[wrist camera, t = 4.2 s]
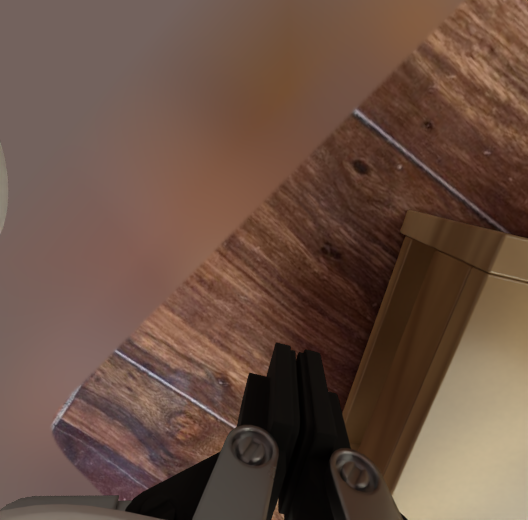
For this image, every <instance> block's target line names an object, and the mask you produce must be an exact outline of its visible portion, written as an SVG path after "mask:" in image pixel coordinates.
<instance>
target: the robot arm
mask: <svg viewBox="0 0 528 520" xmlns="http://www.w3.org/2000/svg"><path fill="white" fill-rule="evenodd" d="M278 498H279V502H278V510H279V513H281V514H284V520H408V519H407V518H406V517H405V516H404V515H402V514H401V513H400V512H399V510H398V507H397V505H396V503H395V501H394V499H393V497H392V495H391V493H390V491H389V489H388V486H387V484H386V482H385V480H384V478H383V476H382V474H381V472H380V471H379V469H378V467H377V466H376V465H375V464H374V463H373V462H372V461H371V460H370V459H369V458H368V457H366V456H365V455H364V454H362V453H360V452H358V451H356V450H353V449H351V447H350V443H349V439H348V435H347V431H346V427H345V423H344V419H343V415H342V411H341V407H340V403H339V399H338V396H337V394H336V393H332V392H328V388H327V384H326V379H325V374H324V369H323V365H322V360H321V355H320V353H318V352H314V351H310V350H304V353H301V352H299V353H298V356H297V359H296V355H295V351H293V350H291V347H290V346H289V345H285V344H280V343H276V344H275V347H274V351H273V355H272V358H271V362H270V366H269V369H268V373H267V377H265V376H261V375H257V374H253V373H249V376H248V379H247V383H246V387H245V391H244V395H243V400H242V404H241V409H240V414H239V419H238V424H237V427H236V428H235V429H233V430H232V431H231V432H230V433H229V435H228V436H227V438H226V440H225V443H224V445H223V448H222V450H221V452H219V453H217V454H215V455H213V456H211V457H209V458H207V459H205V460H203V461H201V462H200V463H198V464H196V465H194V466H192V467H190V468H188V469H186V470H184V471H182V472H180V473H178V474H176V475H175V476H173V477H171V478H169V479H167V480H165V481H163V482H161V483H159V484H157V485H155V486H153V487H151V488H150V489H148V490H146V491H144V492H142V493H141V494H139V495H138V496H137V497H135V498H134V499H133V500H132V501H118V499H119V496H32V497H26V498H21V499H18V500H16V501H14V502H12V503H10V504H8V505H6V506H5V507H3V508H2V509H1V510H0V520H271V518H272V515H273V512H274V510H275V507H276V504H277V501H278Z"/></svg>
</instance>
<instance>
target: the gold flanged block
mask: <svg viewBox="0 0 528 520" xmlns="http://www.w3.org/2000/svg"><path fill="white" fill-rule="evenodd" d="M400 233H402V234H404V235H406V237H405V239H404V242H403V245H402V247H401V250H400V253H399V256H398V259H397V261H396V264H395V267H394V270H393V273H392V275H391V278H390V281H389V284H388V287H387V289H386V292H385V295H384V298H383V301H382V303H381V306H380V309H379V312H378V315H377V318H376V320H375V323H374V326H373V329H372V332H371V334H370V337H369V340H368V343H367V346H366V348H365V351H364V354H363V357H362V360H361V362H360V365H359V368H358V371H357V374H356V376H355V379H354V382H353V385H352V388H351V390H350V393H349V396H348V399H347V402H346V405H345V407H344V410H343V413H342V415H343V419H344V423H345V427H346V431H347V435H348V439H349V443H350V447H351V449H353V450H356V451H358V452H360V453H362V454H364V455H365V456H366V457H368V458H369V459H370V460H371V461H372V462H373V463H374V464H375V465H376V466H377V467H378V469H379V471H380V472H381V474H382V476H383V478H384V480H385V482H386V484H387V486H388V489H389V491H390V493H391V495H392V497H393V499H394V501H395V503H396V505H397V507H398V510H399V512H400V513H401V514H402V515H404V516H405V517H406V518H407V519H408V520H528V238H525V237H521V236H517V235H512V234H508V233H504V232H500V231H496V230H492V229H487V228H483V227H479V226H475V225H471V224H467V223H462V222H458V221H454V220H450V219H446V218H442V217H437V216H433V215H429V214H425V213H421V212H417V211H413V210H408V211H407V213H406V216H405V219H404V222H403V225H402V227H401V230H400Z"/></svg>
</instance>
